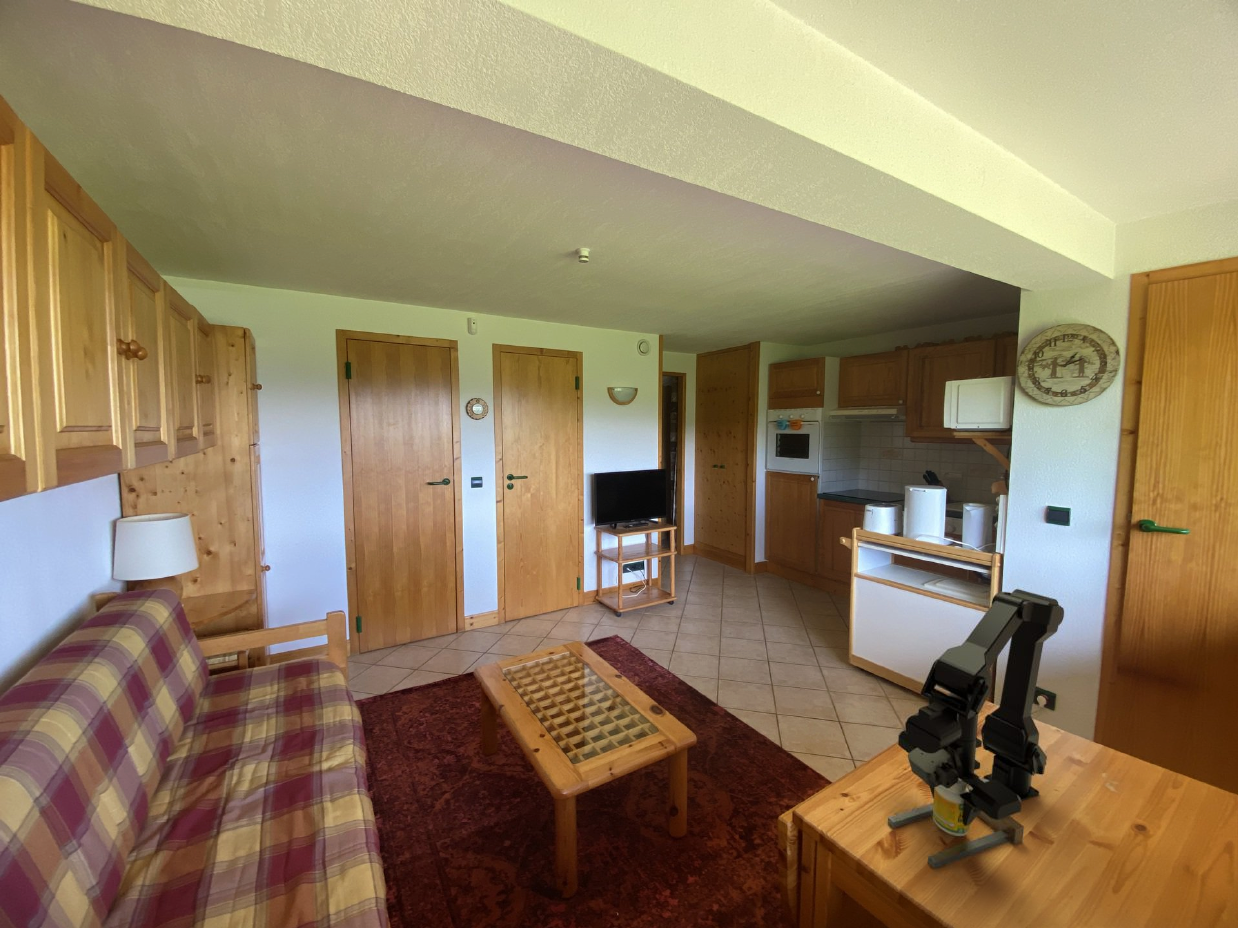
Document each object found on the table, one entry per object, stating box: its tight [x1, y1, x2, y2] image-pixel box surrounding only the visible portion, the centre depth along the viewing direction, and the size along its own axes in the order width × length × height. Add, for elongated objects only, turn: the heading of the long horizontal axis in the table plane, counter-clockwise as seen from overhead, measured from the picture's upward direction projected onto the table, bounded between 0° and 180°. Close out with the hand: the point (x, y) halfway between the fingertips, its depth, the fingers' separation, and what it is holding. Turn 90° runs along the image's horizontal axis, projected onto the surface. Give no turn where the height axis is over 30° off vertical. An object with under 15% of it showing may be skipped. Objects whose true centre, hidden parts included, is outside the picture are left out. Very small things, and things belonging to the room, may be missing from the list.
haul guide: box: [887, 784, 1025, 870], centre depth 87 cm, size 19×11×3 cm, turn 107°
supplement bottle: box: [932, 780, 970, 837], centre depth 87 cm, size 5×5×10 cm
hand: (951, 811), depth 87 cm, fingers closed on supplement bottle, 5 cm apart
